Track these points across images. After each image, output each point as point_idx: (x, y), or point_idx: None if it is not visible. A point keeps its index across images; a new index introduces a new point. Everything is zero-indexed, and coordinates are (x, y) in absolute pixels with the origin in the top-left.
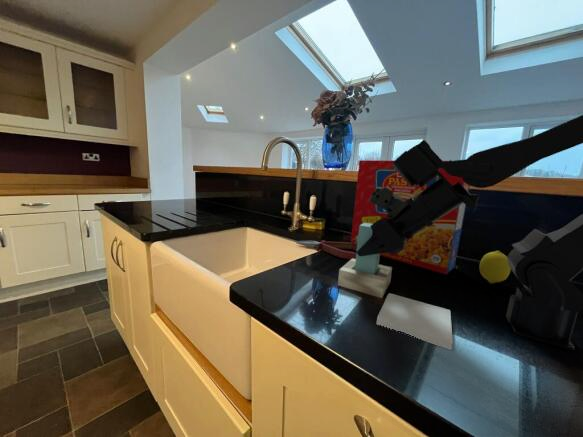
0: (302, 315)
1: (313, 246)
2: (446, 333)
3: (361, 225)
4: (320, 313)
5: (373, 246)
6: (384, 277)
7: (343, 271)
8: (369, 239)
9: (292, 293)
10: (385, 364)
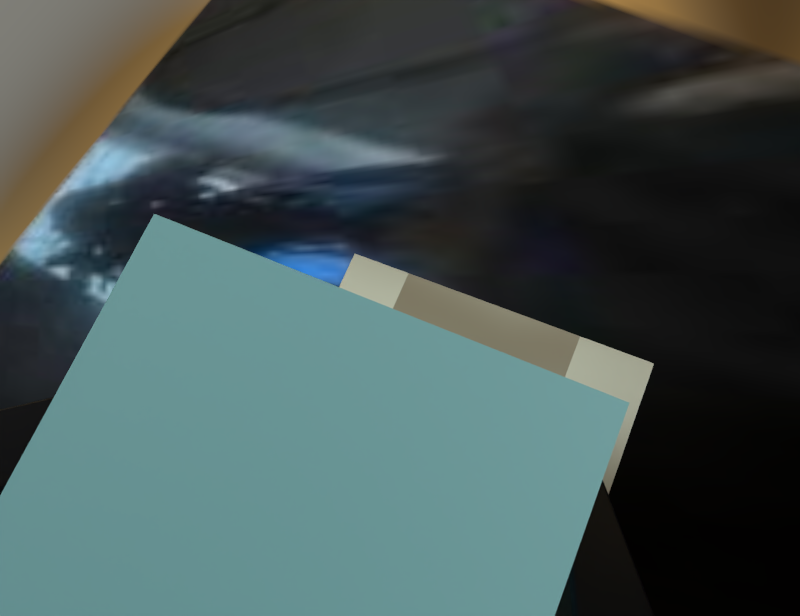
0: (130, 173)
1: None
2: None
3: (147, 255)
4: (143, 226)
5: None
6: None
7: (343, 281)
8: (36, 407)
9: (265, 110)
10: None
